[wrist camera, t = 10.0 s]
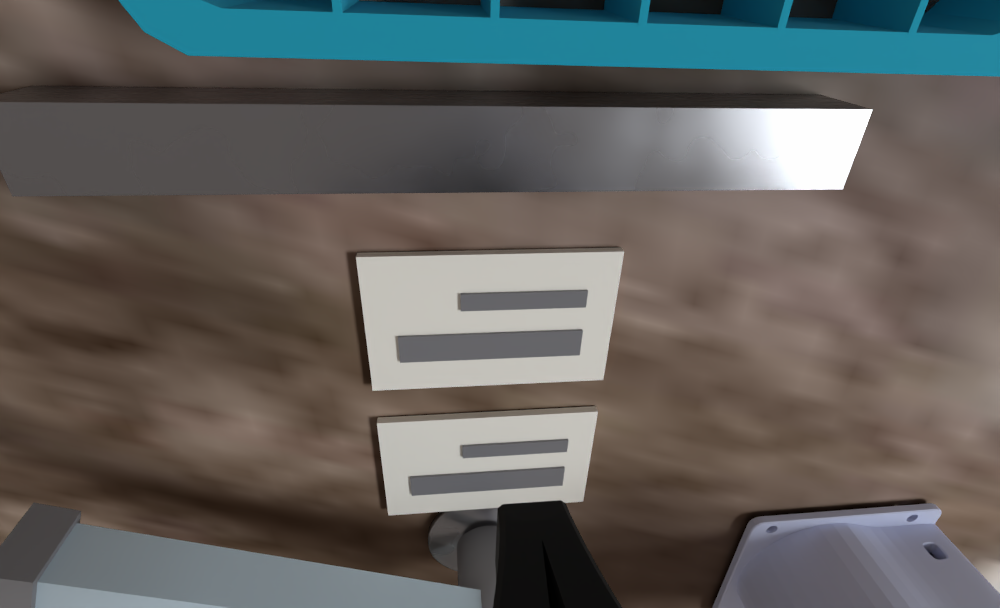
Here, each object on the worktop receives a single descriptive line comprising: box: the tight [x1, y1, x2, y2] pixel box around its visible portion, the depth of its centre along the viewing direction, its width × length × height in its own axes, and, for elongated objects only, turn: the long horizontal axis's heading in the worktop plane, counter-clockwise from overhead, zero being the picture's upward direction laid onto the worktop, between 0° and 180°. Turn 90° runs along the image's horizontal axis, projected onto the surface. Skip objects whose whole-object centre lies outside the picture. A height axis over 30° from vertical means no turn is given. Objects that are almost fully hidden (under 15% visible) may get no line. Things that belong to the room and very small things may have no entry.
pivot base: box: [428, 501, 503, 571], centre depth 23 cm, size 5×5×1 cm
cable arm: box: [0, 503, 497, 608], centre depth 18 cm, size 16×3×5 cm, turn 65°
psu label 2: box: [377, 406, 598, 515], centre depth 20 cm, size 8×5×1 cm, turn 88°
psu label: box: [356, 247, 624, 391], centre depth 17 cm, size 8×5×1 cm, turn 88°
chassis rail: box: [0, 86, 872, 196], centre depth 13 cm, size 20×2×2 cm, turn 88°
